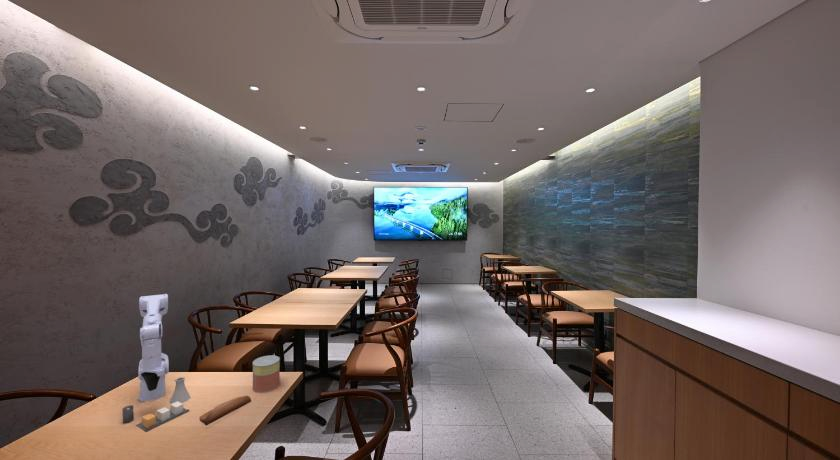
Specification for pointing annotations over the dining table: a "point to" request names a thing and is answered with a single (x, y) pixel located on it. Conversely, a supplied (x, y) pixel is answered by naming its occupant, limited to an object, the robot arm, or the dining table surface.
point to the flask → (180, 392)
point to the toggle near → (176, 408)
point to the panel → (159, 422)
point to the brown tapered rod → (224, 409)
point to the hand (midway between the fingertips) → (152, 389)
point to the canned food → (266, 373)
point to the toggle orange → (148, 420)
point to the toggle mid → (163, 414)
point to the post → (128, 414)
